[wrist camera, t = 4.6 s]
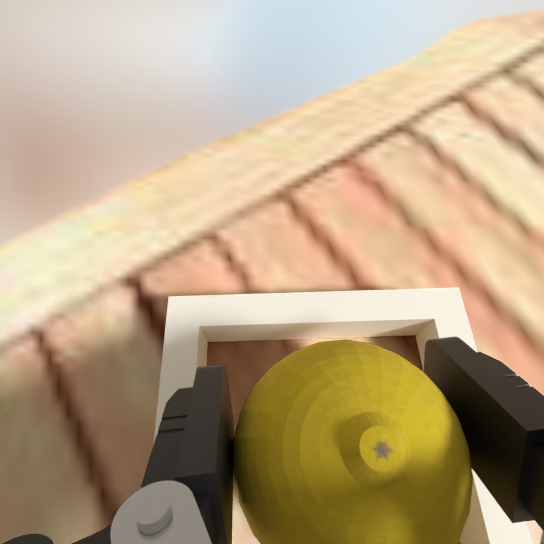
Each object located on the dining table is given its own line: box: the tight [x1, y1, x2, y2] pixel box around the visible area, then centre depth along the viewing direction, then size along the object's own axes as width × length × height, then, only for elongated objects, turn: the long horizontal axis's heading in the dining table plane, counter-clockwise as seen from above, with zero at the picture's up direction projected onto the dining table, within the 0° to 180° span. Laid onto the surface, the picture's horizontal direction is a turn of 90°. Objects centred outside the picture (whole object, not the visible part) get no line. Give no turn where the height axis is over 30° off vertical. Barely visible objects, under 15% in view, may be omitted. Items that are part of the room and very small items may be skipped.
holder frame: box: [153, 287, 533, 544], centre depth 12 cm, size 11×11×2 cm
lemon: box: [233, 340, 473, 544], centre depth 9 cm, size 6×6×8 cm
